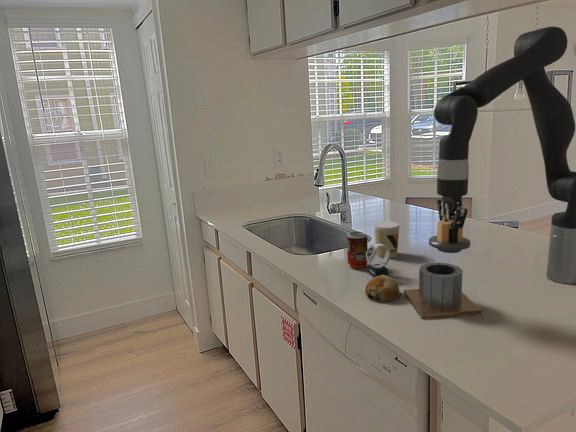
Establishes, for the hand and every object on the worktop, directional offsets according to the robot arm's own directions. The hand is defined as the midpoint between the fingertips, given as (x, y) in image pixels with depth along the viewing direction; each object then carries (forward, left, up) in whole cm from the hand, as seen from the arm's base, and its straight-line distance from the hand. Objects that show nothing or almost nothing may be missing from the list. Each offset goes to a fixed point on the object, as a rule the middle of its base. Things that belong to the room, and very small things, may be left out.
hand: (450, 240), depth 114 cm
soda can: (+18, -35, -20) cm, 44 cm away
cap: (0, 0, -3) cm, 3 cm away
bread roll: (+16, -10, -20) cm, 27 cm away
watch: (+13, -25, -20) cm, 35 cm away
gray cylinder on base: (+1, -2, -19) cm, 20 cm away
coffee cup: (+5, -45, -20) cm, 50 cm away
